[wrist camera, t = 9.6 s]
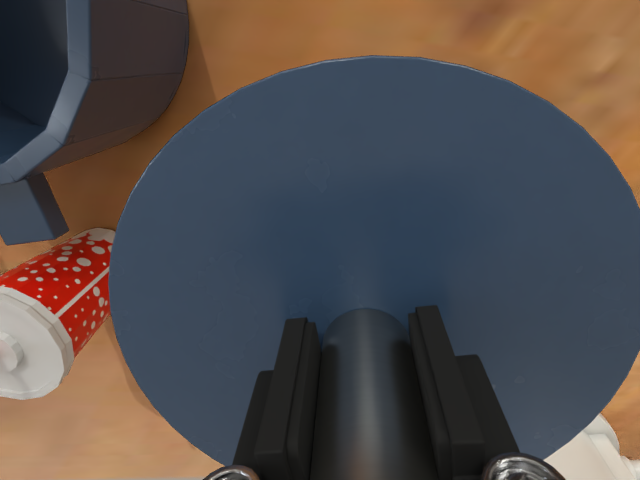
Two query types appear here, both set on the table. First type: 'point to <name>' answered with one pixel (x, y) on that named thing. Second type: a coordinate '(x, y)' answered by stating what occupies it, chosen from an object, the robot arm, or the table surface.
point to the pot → (77, 92)
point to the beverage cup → (52, 312)
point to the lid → (379, 258)
